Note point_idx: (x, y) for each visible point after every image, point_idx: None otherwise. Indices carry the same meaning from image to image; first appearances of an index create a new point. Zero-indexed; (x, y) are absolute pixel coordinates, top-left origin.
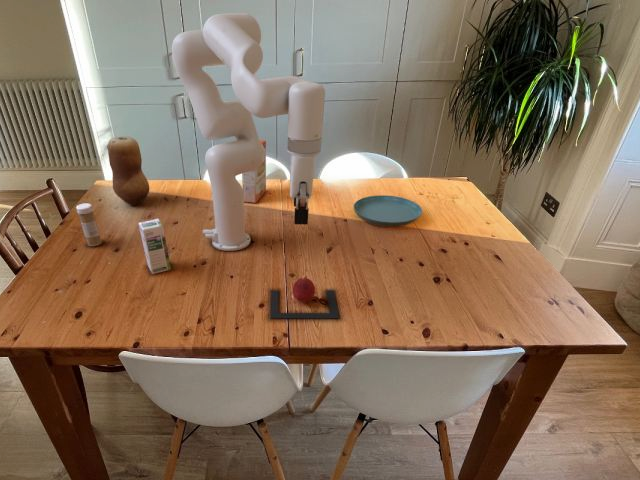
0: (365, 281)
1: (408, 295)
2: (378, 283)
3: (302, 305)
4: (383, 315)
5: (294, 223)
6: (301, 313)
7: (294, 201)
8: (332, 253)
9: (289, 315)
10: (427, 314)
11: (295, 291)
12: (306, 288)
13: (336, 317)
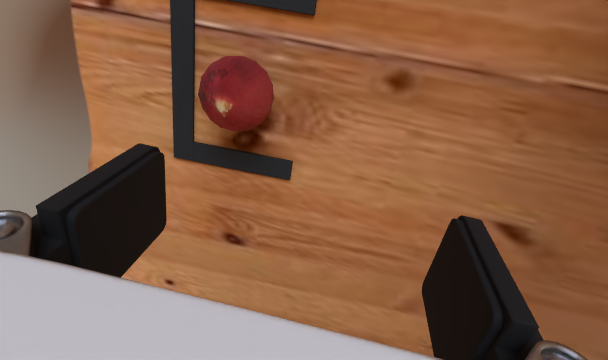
0: (320, 261)
1: None
2: (307, 282)
3: None
4: (189, 246)
5: (139, 144)
6: (190, 67)
7: (464, 244)
8: None
9: (181, 28)
10: None
11: (213, 63)
12: (201, 101)
13: (176, 152)
